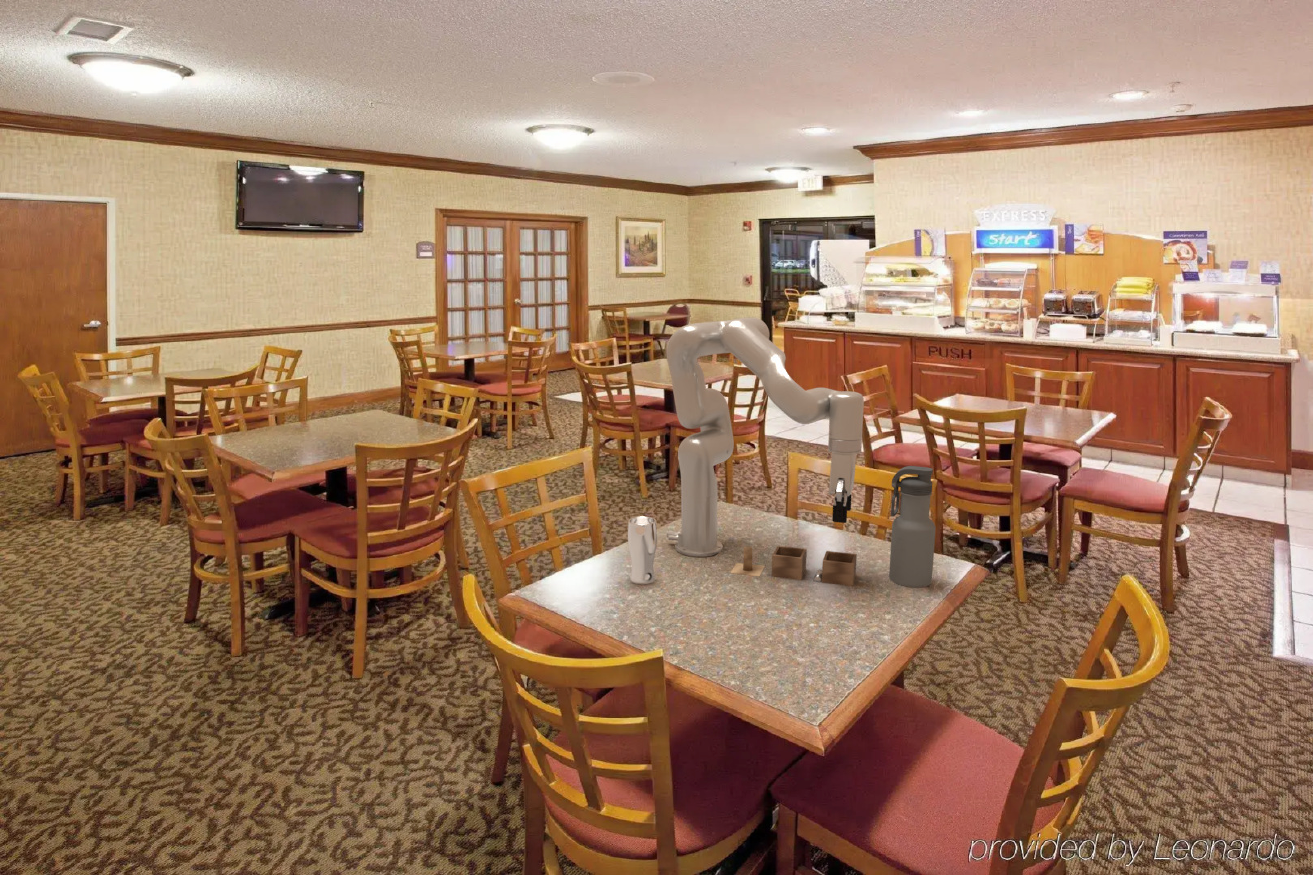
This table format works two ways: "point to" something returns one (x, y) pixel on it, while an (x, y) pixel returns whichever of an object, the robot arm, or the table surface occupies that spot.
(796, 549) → the brown open box
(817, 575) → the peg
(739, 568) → the lid
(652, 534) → the beer glass
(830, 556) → the brown square open-topped box
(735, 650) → the table surface
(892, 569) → the water bottle
